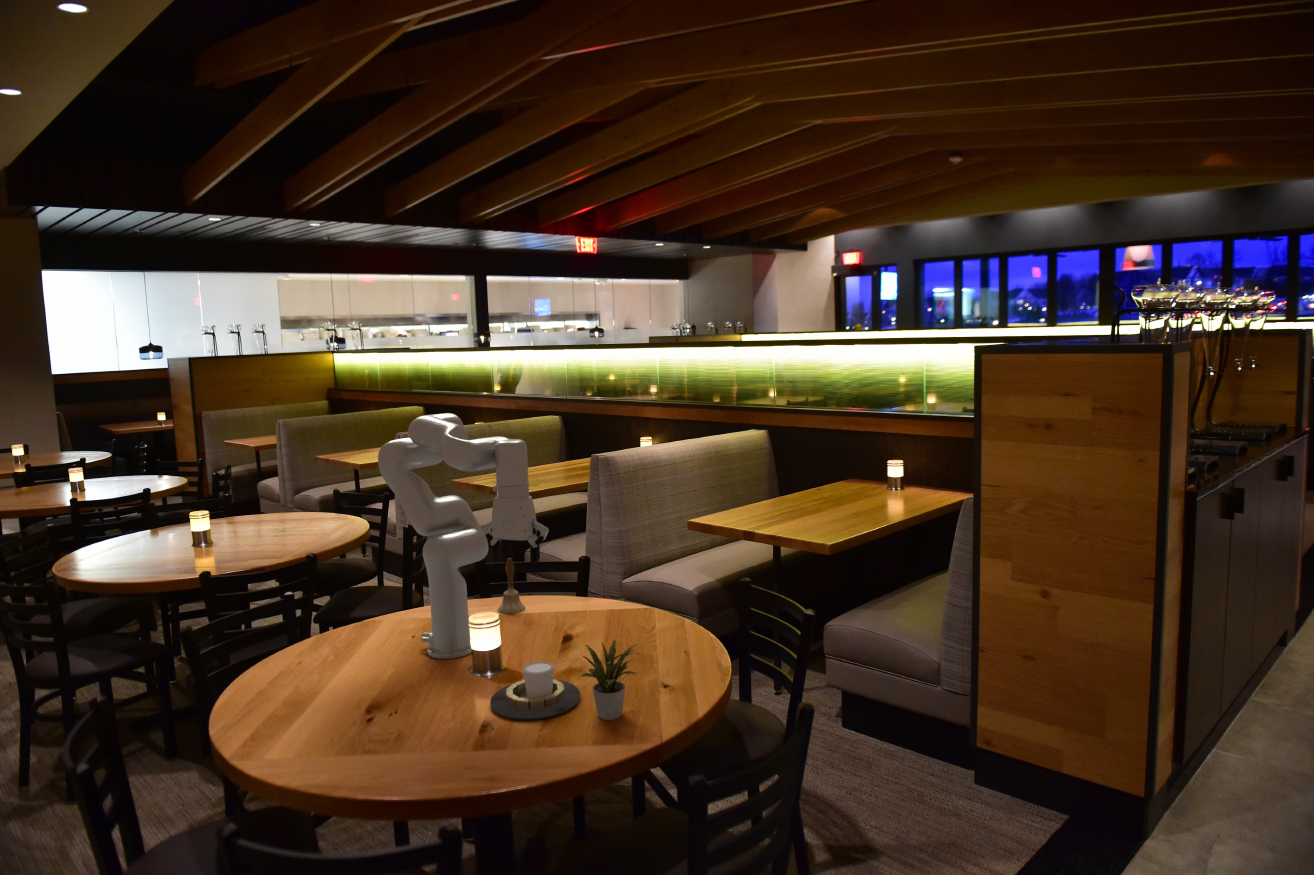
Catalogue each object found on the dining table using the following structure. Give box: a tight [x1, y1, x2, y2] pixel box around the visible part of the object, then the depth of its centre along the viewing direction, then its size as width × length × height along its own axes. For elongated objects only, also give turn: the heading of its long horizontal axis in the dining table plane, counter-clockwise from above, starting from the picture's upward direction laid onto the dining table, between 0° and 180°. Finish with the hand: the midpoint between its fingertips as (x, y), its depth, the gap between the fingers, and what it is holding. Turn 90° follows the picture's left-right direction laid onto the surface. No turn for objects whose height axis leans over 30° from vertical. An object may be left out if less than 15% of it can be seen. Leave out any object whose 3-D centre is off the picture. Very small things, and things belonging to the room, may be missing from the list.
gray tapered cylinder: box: [522, 661, 554, 699], centre depth 190 cm, size 7×7×7 cm
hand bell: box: [497, 557, 526, 614], centre depth 256 cm, size 8×8×16 cm
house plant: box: [579, 639, 641, 721], centre depth 180 cm, size 14×14×16 cm
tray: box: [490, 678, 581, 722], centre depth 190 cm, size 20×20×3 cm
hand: (516, 561), depth 203 cm, fingers open, 9 cm apart
